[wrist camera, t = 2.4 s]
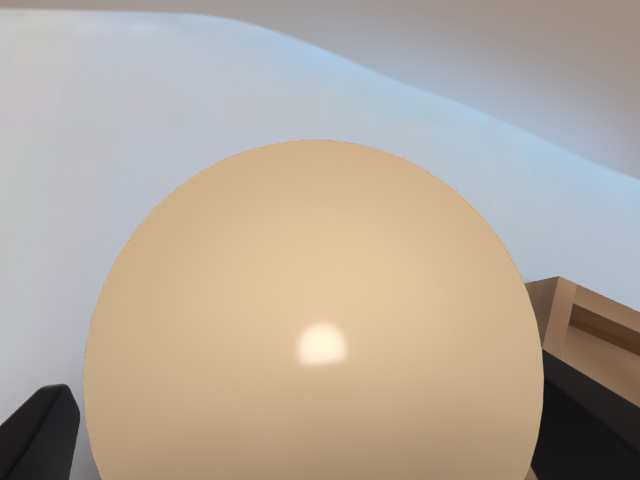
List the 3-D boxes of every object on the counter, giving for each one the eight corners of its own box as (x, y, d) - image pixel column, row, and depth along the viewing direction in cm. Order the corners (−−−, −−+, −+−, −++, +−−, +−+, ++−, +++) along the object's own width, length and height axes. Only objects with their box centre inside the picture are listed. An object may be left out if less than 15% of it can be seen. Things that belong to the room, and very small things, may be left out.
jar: (310, 427, 16) (477, 710, 4) (194, 379, 16) (-28, 508, 4) (354, 311, 17) (581, 239, 5) (248, 265, 17) (221, 76, 5)
